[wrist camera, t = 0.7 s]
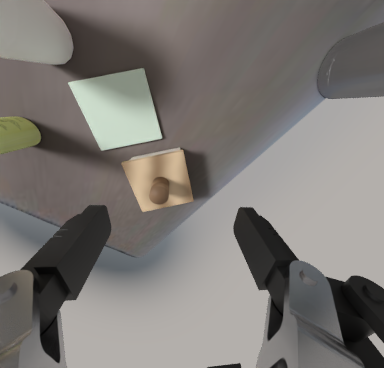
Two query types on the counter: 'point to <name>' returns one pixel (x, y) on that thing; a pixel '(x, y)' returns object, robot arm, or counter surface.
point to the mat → (118, 108)
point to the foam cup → (33, 33)
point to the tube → (17, 134)
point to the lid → (159, 180)
